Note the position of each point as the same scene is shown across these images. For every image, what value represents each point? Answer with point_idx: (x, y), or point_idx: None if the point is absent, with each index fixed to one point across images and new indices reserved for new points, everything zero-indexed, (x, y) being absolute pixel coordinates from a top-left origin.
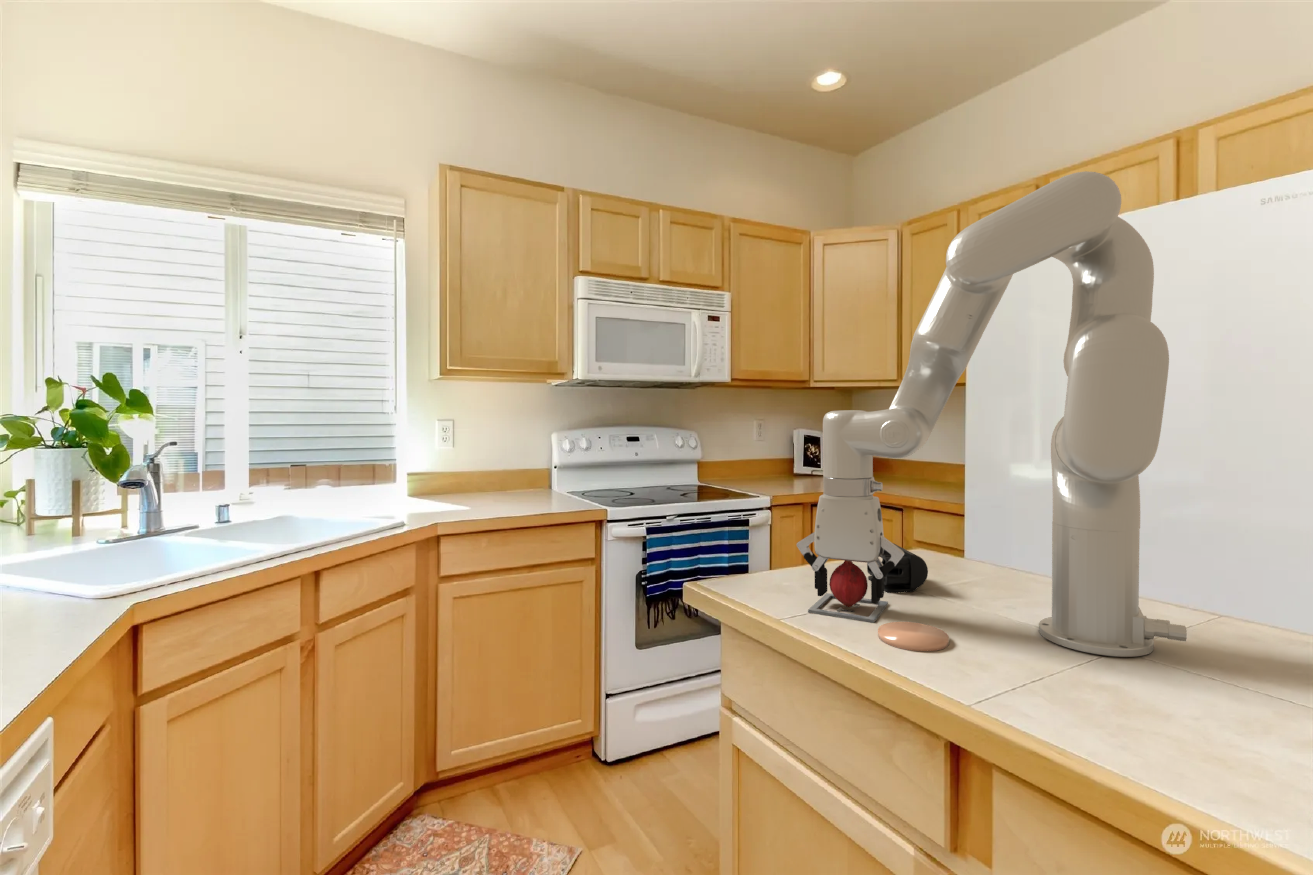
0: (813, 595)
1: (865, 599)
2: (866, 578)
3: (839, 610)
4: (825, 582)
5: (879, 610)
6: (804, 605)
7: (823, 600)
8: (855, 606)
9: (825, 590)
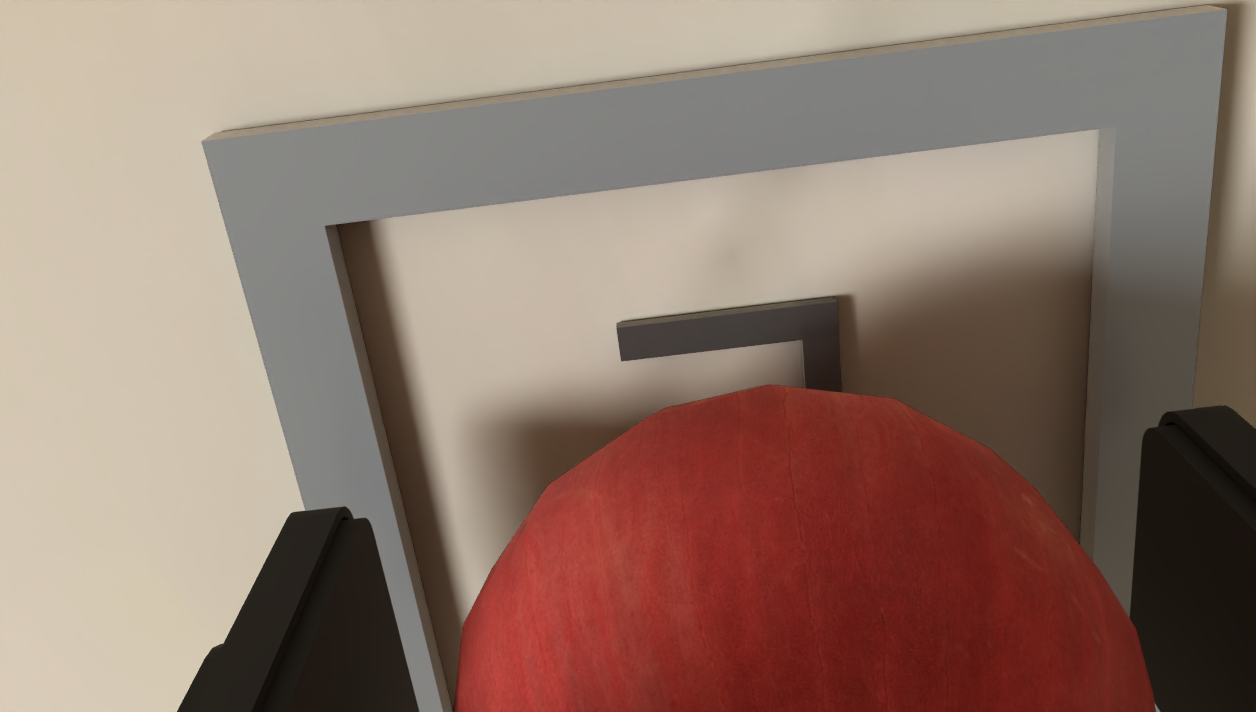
0: (58, 243)
1: (868, 109)
2: (1150, 689)
3: None
4: (352, 708)
5: None
6: None
7: (368, 503)
8: None
9: (382, 622)
